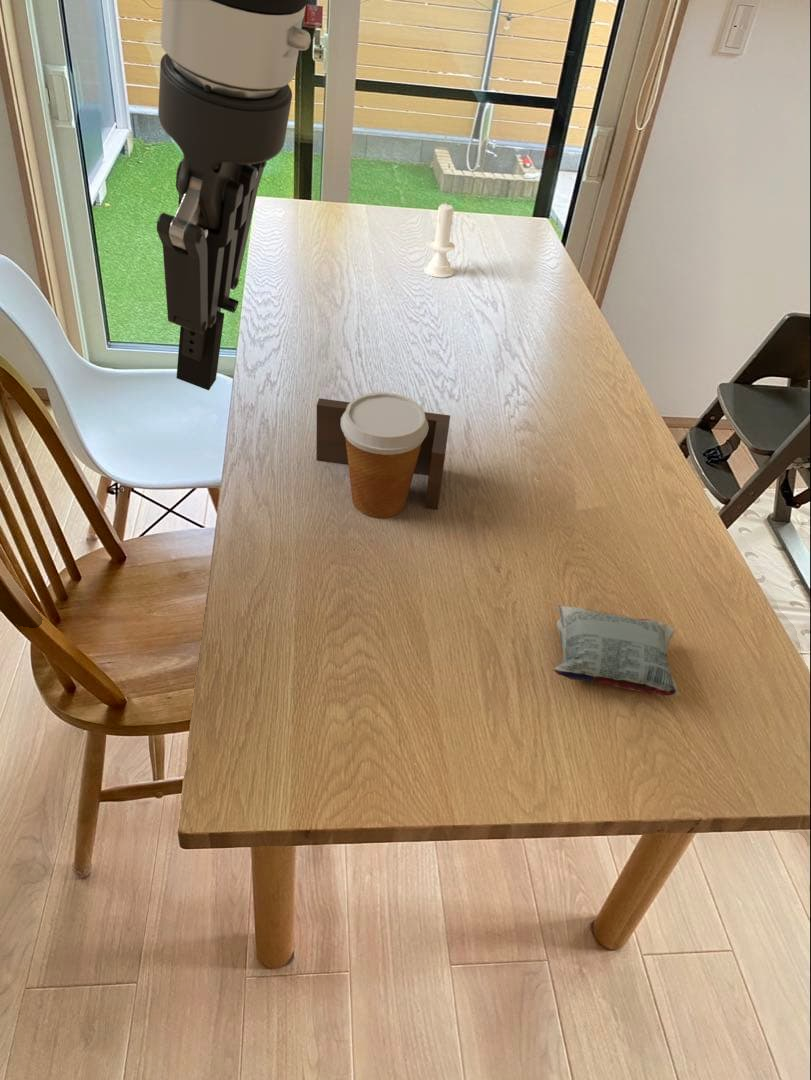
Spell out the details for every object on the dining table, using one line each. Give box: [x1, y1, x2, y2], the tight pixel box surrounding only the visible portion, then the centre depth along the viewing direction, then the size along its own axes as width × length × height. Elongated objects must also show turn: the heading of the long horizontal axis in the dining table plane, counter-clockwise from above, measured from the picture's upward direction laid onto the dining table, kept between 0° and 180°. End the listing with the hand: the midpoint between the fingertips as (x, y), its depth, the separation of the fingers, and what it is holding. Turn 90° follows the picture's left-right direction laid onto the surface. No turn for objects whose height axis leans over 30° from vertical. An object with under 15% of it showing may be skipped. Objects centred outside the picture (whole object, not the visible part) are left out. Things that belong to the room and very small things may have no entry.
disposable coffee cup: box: [341, 392, 429, 519], centre depth 88 cm, size 10×10×12 cm
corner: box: [315, 397, 451, 510], centre depth 92 cm, size 8×16×8 cm, turn 83°
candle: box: [423, 201, 456, 279], centre depth 136 cm, size 5×5×12 cm
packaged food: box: [552, 601, 681, 697], centre depth 74 cm, size 9×12×5 cm
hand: (196, 378), depth 63 cm, fingers closed
